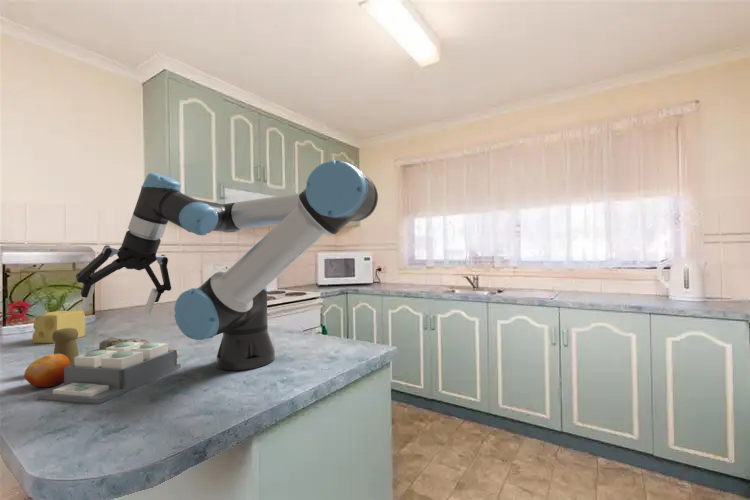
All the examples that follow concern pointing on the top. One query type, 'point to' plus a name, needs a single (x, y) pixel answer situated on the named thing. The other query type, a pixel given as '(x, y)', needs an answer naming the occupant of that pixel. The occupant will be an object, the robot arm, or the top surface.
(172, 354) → the button panel
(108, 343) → the elongated rock
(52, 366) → the fruit
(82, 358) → the button
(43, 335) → the cheese
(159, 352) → the button
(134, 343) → the button
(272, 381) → the top surface
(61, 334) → the cork
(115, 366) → the button
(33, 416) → the top surface
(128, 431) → the top surface
